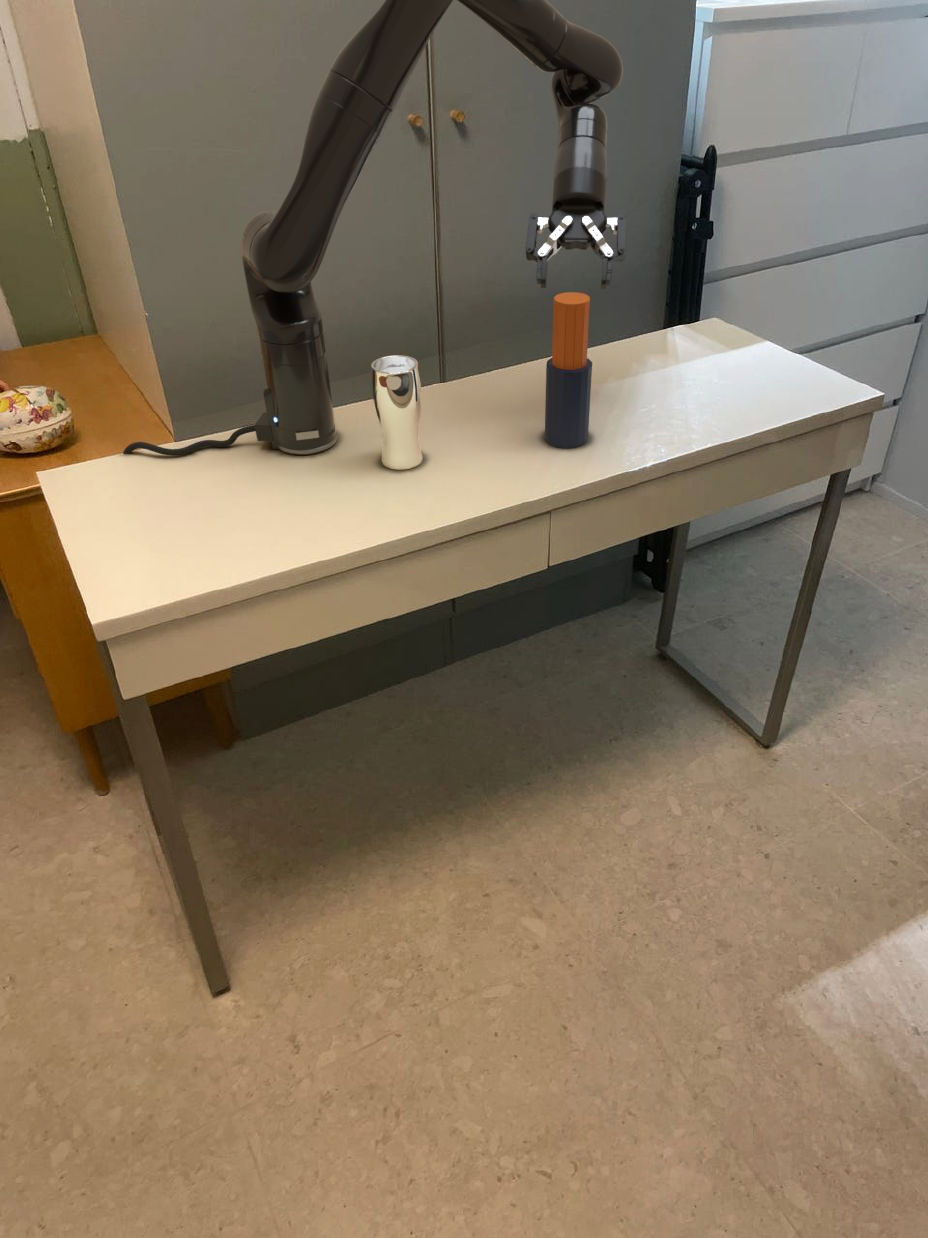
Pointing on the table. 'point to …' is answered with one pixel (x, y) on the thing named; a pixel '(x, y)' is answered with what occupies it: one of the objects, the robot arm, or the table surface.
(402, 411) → the silver metal tumbler
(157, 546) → the table surface
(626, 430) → the table surface
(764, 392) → the table surface
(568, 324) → the grooved orange cylinder
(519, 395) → the table surface
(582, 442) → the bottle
